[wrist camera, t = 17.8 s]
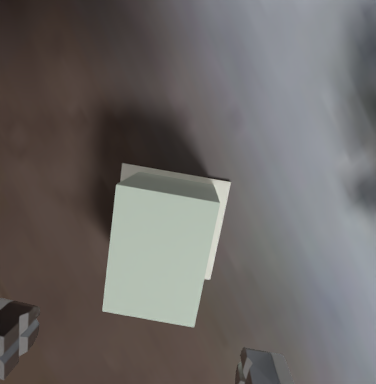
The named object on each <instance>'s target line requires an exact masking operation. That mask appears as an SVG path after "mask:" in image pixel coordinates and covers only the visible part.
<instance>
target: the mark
mask: <svg viewBox="0 0 376 384" xmlns="http://www.w3.org/2000/svg"><path fill="white" fill-rule="evenodd" d="M139 171H140V172H145V173H151V174H156V175H162V176H168V177H173V178H179V179H185V180H190V181H196V182H202V183H207V184H213V185H214V187H215V189H216V192H217V195H218V198H219V201H220V206H219V211H218V216H217V221H216V225H215V230H214V235H213V240H212V244H211V249H210V254H209V259H208V263H207V268H206V273H205V278H204V279H209V280H210V278H211V273H212V269H213V264H214V259H215V255H216V250H217V245H218V241H219V236H220V231H221V227H222V222H223V217H224V212H225V208H226V203H227V198H228V194H229V189H230V184H231V182H228V181H222V180H217V179H211V178H205V177H200V176H194V175H188V174H182V173H177V172H171V171H165V170H160V169H154V168H148V167H143V166H137V165H131V164H126V163H122V170H121V179H120V182H121V181H123V180H125V179H127V178H128V177H130V176H132V175H134V174H135V173H137V172H139Z"/></svg>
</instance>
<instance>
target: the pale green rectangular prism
mask: <svg viewBox="0 0 376 384" xmlns="http://www.w3.org/2000/svg"><path fill="white" fill-rule="evenodd" d="M219 206H220V201H219V198H218V195H217V192H216V189H215V187H214V185H213V184H207V183H202V182H196V181H190V180H185V179H179V178H173V177H168V176H162V175H156V174H151V173H145V172H140V171H139V172H137V173H135V174H134V175H132V176H130V177H128V178H127V179H125V180H123V181H121V182H120V183H118V184H116V191H115V200H114V209H113V218H112V227H111V236H110V246H109V255H108V264H107V273H106V282H105V291H104V300H103V310H102V311H104V312H110V313H115V314H121V315H127V316H132V317H138V318H144V319H149V320H155V321H160V322H166V323H172V324H177V325H183V326H189V327H194V325H195V321H196V316H197V311H198V306H199V302H200V297H201V292H202V287H203V283H204V278H205V273H206V268H207V263H208V259H209V254H210V249H211V244H212V240H213V235H214V230H215V225H216V221H217V216H218V211H219Z"/></svg>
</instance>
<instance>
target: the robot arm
mask: <svg viewBox="0 0 376 384" xmlns="http://www.w3.org/2000/svg"><path fill="white" fill-rule="evenodd" d="M39 315H40V307H38V306H35V305H31V304H27V303H22V302H18V301H12V300H8V299H4V298H0V379H2V380H4V379H5V378H6V377H7V376H8V375H9V373H10V372H11V371H12V370H13V368H14V367H15V366H16V365H17V364H18V362H19V356H20V355H22V354H24V353H25V352H27V351H28V350H29V349H30V348H31V346H32V345H33V343H34V342H35V340H36V338H37V335H38V332H39V323H38V321H37V320H36V318H37V317H38V316H39ZM240 356H241V362H240V363H239V364H238V365H237V370H236V377H235V384H294V381H293V379H292V376H291V373H290V371H289V368H288V365H287V363H286V360H285V357H284V356H283V355H282V354H277V353H272V352H266V351H261V350H255V349H250V348H245V347H243V349H242V351H241V355H240Z"/></svg>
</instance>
